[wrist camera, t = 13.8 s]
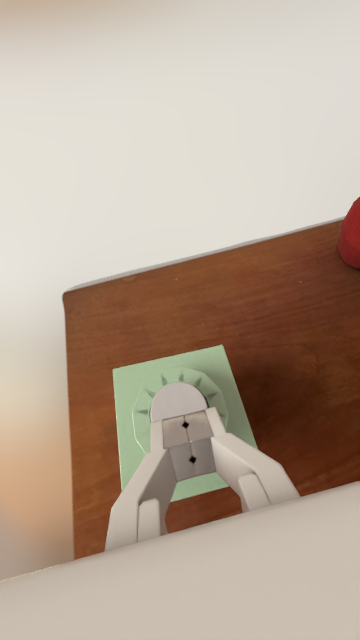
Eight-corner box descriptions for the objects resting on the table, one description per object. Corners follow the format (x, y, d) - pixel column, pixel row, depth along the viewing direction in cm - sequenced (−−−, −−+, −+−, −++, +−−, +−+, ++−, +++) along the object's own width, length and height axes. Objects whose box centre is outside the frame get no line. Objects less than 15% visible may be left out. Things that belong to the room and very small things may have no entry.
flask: (235, 460, 25) (279, 482, 13) (150, 482, 25) (112, 528, 12) (211, 375, 30) (226, 333, 18) (139, 392, 29) (103, 360, 17)
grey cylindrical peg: (212, 436, 15) (215, 436, 13) (159, 449, 14) (155, 451, 13) (198, 382, 16) (199, 376, 15) (151, 393, 16) (146, 388, 14)
